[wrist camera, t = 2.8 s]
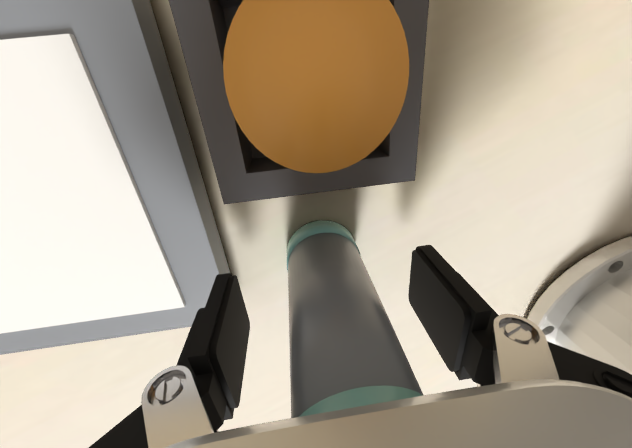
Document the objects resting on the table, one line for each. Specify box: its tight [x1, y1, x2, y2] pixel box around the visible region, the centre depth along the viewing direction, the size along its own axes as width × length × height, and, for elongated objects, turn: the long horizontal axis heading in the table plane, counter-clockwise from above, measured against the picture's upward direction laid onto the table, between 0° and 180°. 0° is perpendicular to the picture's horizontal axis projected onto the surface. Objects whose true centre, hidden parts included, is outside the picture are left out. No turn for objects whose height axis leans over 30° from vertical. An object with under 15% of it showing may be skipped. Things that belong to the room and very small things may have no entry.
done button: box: [223, 0, 409, 173], centre depth 7 cm, size 4×4×2 cm
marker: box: [287, 220, 424, 418], centre depth 10 cm, size 4×4×11 cm
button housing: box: [169, 0, 429, 204], centre depth 10 cm, size 7×7×3 cm
